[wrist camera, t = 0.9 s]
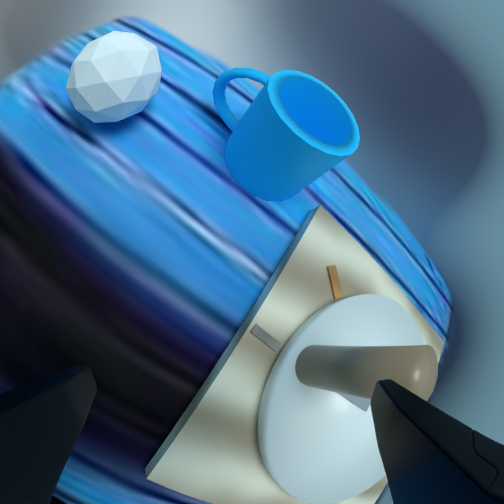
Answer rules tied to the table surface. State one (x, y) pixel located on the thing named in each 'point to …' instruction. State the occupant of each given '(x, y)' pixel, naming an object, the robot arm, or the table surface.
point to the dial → (338, 396)
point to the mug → (285, 132)
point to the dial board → (268, 370)
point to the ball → (114, 77)
